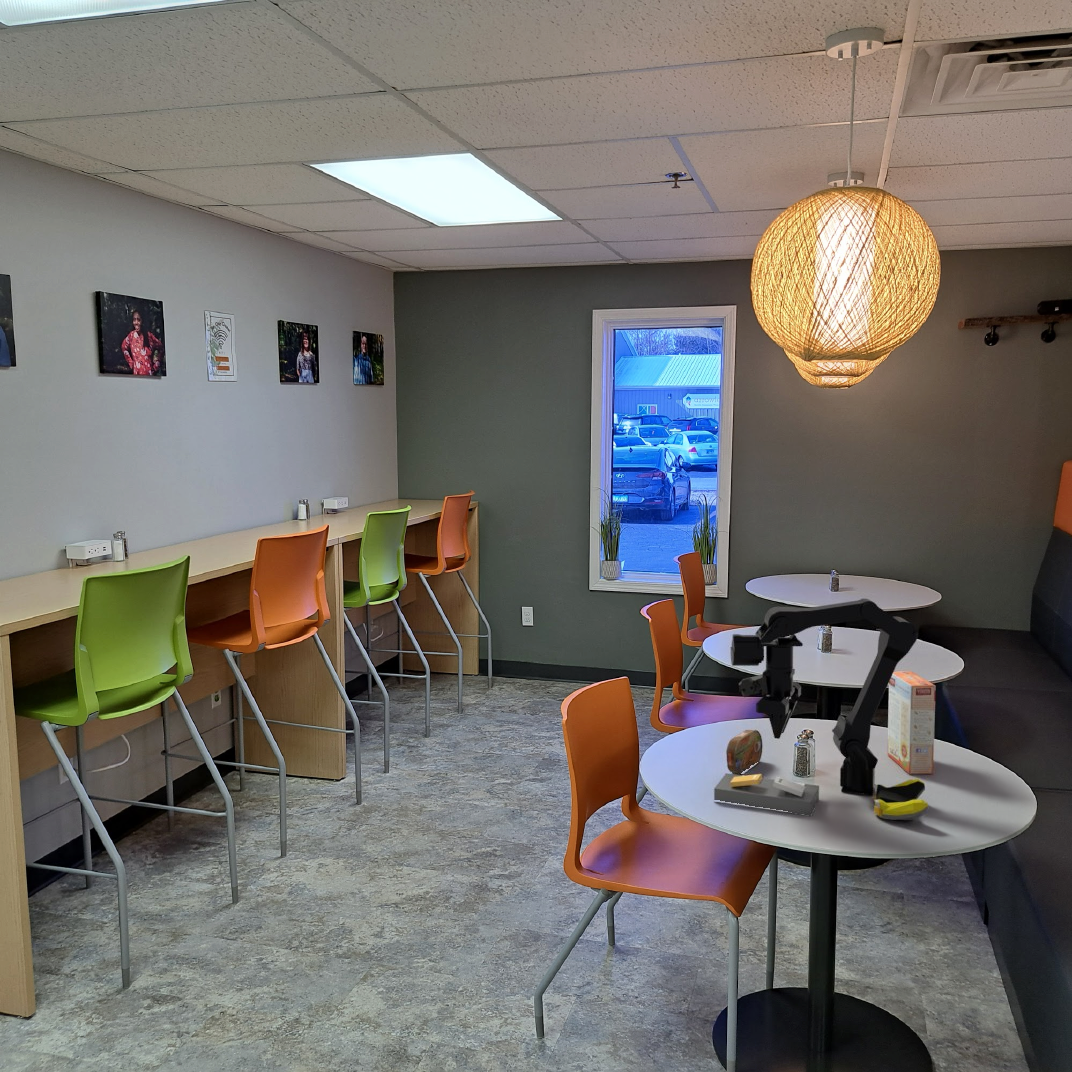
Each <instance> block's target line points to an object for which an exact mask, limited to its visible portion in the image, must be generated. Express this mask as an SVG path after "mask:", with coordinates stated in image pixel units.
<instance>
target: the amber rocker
mask: <svg viewBox="0 0 1072 1072" xmlns="http://www.w3.org/2000/svg"><path fill="white" fill-rule="evenodd" d="M762 778H763V774H762V773H758V774H757V773H756V774H749V775H744V776H738V777H734V778H733V779H732V780H731V782H730V784H731V787H736V786H745V785H755V784H759V783H760V781H761V780H762Z"/></svg>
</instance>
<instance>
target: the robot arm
mask: <svg viewBox="0 0 1072 1072" xmlns="http://www.w3.org/2000/svg"><path fill="white" fill-rule="evenodd" d="M860 620H861V621H862V620H867V621H869V622H870V623H871V624H872V625H874V626H876V627H877V628H878V629H880V632H879V636H878V643H877V654H876V656H875V657H874V660H873V662H872V665H871V667H870V669H869V672H868V674H867V676H866V678H865V681H864V683H863V686H862V687H861V690H860V692H859V693H858V697H857V698H856V701H855V703H854V706H853V708H852V710H851V711H850V712H849V714H847V716H845V717H844V716H843V715H839V716H838V718H837V720H836V721H837V722H836V724H835V726H834V727H833V728H832V729H831V732H832V733H833V736H832V741H833V743H834V745H835V746H836V748H837V750H838V751H839V752H840V754H841V755H842V756H843V757H844V760H843V761H842V765H841V766H840V769H839V771H840V772H839V777H840V778H839V786H840V787H841V789H840V790H841V791H840V792H843V793H847V794H855V795H864V796H869V797H871V796H872V797H874V795H875V789H874V785H877V784H875V778H876V777H875V775H876V774H875V773H876V771H875V769H876V766H877V764H878V761H879V759H878V758H877V757H876V756H875V754H874V753H873V752H872V751H871V750H870V748H869V747H868V746H869V743H870V737H871V728H872V727H871V724H872V722H873V719H874V717H875V714H876V712H877V710H878V707H879V706H880V703H881V701H882V699H883V697H884V694H885V691H886V689H887V687H888V686H889V681H890V679H891V677H892V674H893V672H895V671H896V670H895V669H896V667H897V665H898V663H900V661H902V660H903V659H904V657H906V656H907V654H909V653H910V651H911V649H912V648H913V646H914V645H915V643H916V642H917V639H918V635H919V634H918V632H917V629H916V627H915V625H914V624H912V623H911V622H909V621H907V620H906V619H904V618H902V617H900V616H892V615H891V614H889V613H888V612H886V611H885V610H884V609H882V608H881V607H879V606H878V605H877V604H876V603H875V602H874V601H873V600H871V599H869V598H859V599H857V600H853V601H846V602H840V603H839V602H838V603H832V604H825V605H819V606H818V605H817V606H813V607H795V606H774V607H771V608H770V609H768V611H767V612H766V613H765V616H764V621H763V623H762V624H761V625H760V626H759V628H758V629H757V630H756V631H755V634H738V633H733V634H732V640H731V646H730V664H731V666H732V667H733V666H734V667H735V666H736V667H738V666H740V667H741V666H743V667H747V666H752V667H753V666H754V667H758V666H759V665H760V664H762V662H764V660H765V669H764V670H763V672H762V674H759V675H755V676H752V677H747V678H743V679H742V680H741V681H740V682H739V683H738V686H739V688H738V691H739V692H740V693H741V695H742V697H743V698H748V697H750V696H752V695H755V694H759V693H761V695H762V697H760V698H759V700H757V702H756V704H755V712H756V713H758V714H765V715H767V716H768V719H769V722H770V723H769V724H770V726H771V730H772V734H773V738H774V739H780V738H781V736H782V734H784V733H785V730H786V728H787V726H788V723H789V721H790V718H791V716H792V714H793V712H794V710H795V707H796V705H797V703H798V699H795V698H792V696H793V694H795V697H796V698H800V696H801V695H802V685H800V684H799V683H798V682H797V681H794V675H795V674H796V669H795V668H794V647H803V645H804V643H803V642H802V641H801V640H800V639H799V638H798V636H797V635H796V634H799V633H801V632H803V631H805V630H807V629H810V628H814V627H820V626H829V625H835V624H840V623H849V622H855V621H860Z"/></svg>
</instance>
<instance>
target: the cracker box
mask: <svg viewBox="0 0 1072 1072" xmlns="http://www.w3.org/2000/svg"><path fill="white" fill-rule="evenodd" d="M887 712H888V713H887V714H888V717H887V718H888V719H887V756H888V757H889V758H891V760H892V761H894V762H895V763H896V764H897V765H898V766H900V767H901V768H902V769H903V770H904V771H905V772H906V773H907V774H909V775H933V774H934V752H935V749H934V747H935V717H936V716H935V715H936V713H935V712H936V685H935V684H933V683H932V682H930V681H928V680H927V679H925V678H923V677H922V676H920V675H919V674H917V673H915V672H914V671H909V670H908V671H907V670H905V671H904V670H903V671H901V670H900V671H894V672H893V674H892V677H891V679H890V681H889V683H888V711H887Z"/></svg>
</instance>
